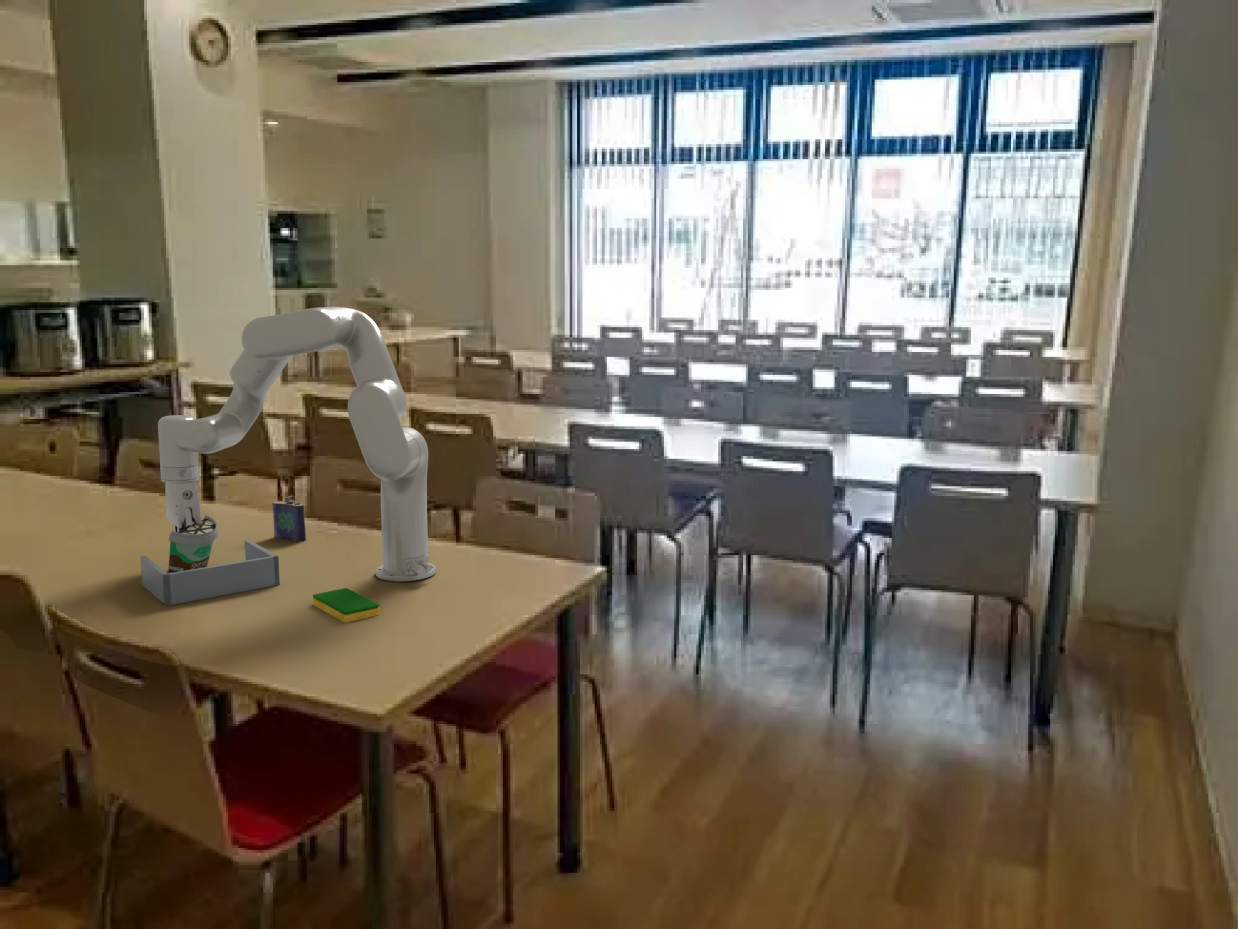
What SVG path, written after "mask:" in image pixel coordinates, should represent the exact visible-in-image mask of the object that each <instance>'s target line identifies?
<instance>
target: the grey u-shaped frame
mask: <svg viewBox="0 0 1238 929" xmlns="http://www.w3.org/2000/svg"><path fill="white" fill-rule="evenodd" d="M243 542H244V553H245V554H244V556H245V557H244V558H245V560H241V561H235V562H230V563H221V564H218V565H212V566H207V567H204V568H198V569H192V570H186V571H180V572H174V573H170V572H167V571H165V570H164V569H163V568H162V567H160V566H159V565H158V564H157V563H156V562H154V561H153V560H151V559H150V558H149V557H147V556H146V555H142V556H139V558H140V559H139V560H140V569H141V570H140V571H141V573H140V574H141V582H142V583H141V584H142V586H143V587H144V588H146V589H147V590H148V592H150V593H151V594H152V595H154V597H155V598H157V599H158V600H159V601H160V602H161V603H162V604H164V605H165V606H166V607H167V606H172V605H178V604H183V603H189V602H194V601H199V600H200V601H201V600H204V599H211V598H214V597H220V596H227V595H232V594H237V593H241V592H247V591H253V590H258V589H263V588H269V587H274V586H279V585H280V584H281V582H280V566H279V565H280V564H279V563H280V561H279V555H277V554H275V553H273V552H271V551H269V550H268V549H266V548H264V547H262V546H260V545H259V544H257V543H255V542H254V541H252V540H251V539H247V540H246V539H245V540H244V541H243Z"/></svg>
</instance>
